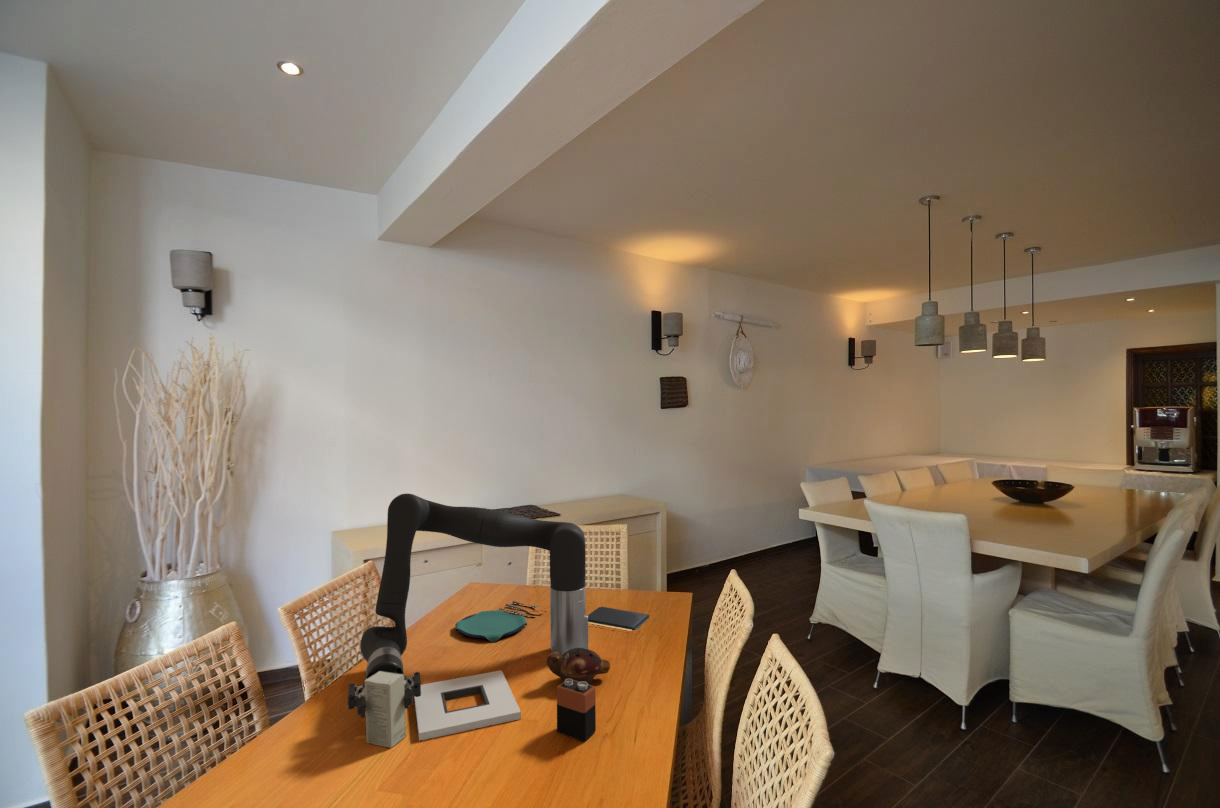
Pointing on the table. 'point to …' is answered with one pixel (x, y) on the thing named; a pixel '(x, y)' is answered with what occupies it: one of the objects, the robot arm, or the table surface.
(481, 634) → the teal flat piece
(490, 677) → the slot board
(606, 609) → the dark hardcover book
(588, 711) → the battery
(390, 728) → the skincare box
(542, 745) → the table surface
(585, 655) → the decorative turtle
